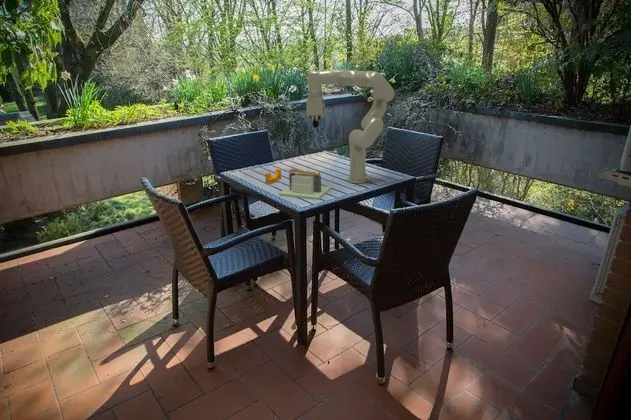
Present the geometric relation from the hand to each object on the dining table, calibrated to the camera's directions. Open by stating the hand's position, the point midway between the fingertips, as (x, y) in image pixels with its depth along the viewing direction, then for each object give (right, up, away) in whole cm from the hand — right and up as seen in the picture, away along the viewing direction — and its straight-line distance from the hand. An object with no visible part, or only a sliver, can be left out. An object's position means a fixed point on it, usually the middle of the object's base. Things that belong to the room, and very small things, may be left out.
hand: (315, 127), depth 240 cm
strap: (-6, -26, -2) cm, 27 cm away
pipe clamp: (-26, -29, +24) cm, 46 cm away
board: (-6, -37, +2) cm, 37 cm away
